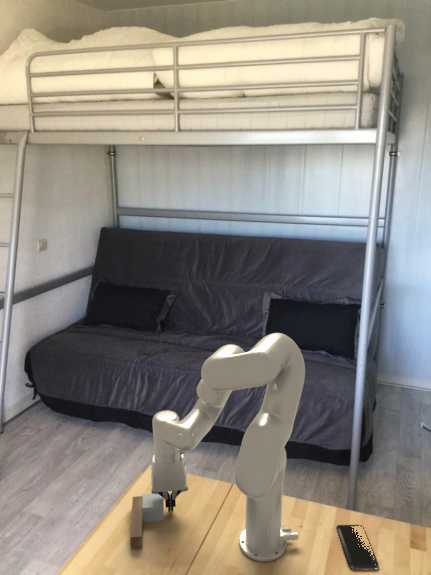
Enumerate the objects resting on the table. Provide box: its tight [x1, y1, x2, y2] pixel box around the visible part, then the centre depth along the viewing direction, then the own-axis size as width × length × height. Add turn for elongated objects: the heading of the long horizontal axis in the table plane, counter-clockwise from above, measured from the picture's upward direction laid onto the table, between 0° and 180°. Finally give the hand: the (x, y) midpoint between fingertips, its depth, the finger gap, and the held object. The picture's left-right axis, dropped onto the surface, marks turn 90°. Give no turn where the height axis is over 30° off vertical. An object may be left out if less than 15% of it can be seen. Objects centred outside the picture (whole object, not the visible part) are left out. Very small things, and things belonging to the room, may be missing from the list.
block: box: [142, 493, 165, 524], centre depth 145 cm, size 6×6×5 cm
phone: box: [335, 524, 379, 571], centre depth 134 cm, size 8×1×15 cm
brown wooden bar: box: [129, 495, 144, 550], centre depth 140 cm, size 3×16×4 cm, turn 7°
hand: (170, 508), depth 146 cm, fingers closed
